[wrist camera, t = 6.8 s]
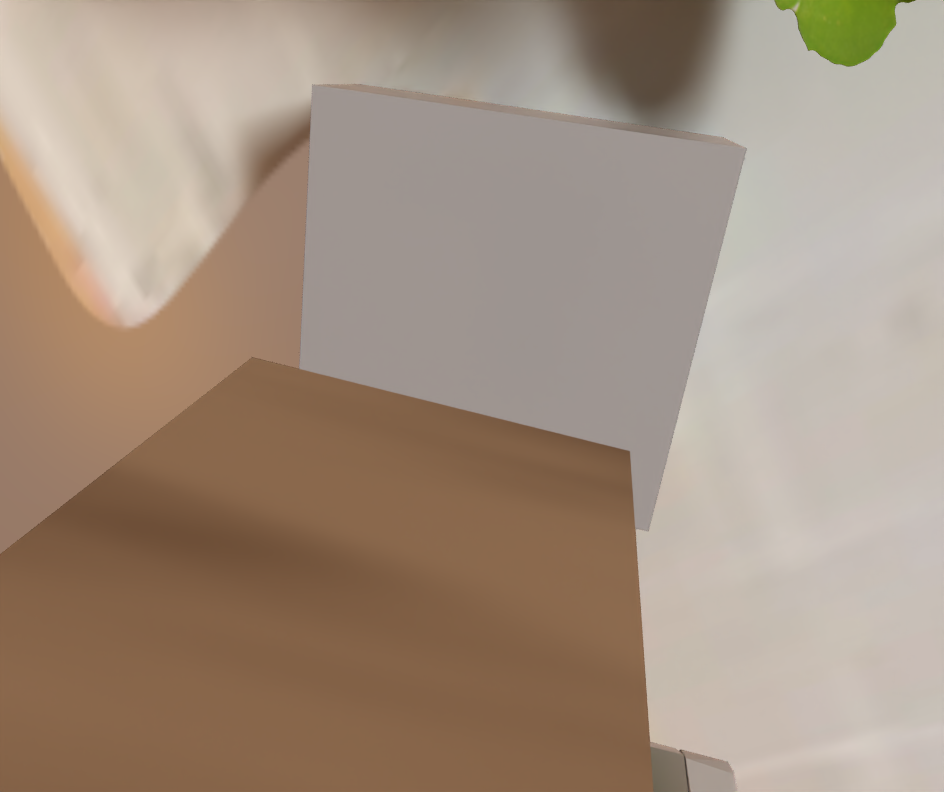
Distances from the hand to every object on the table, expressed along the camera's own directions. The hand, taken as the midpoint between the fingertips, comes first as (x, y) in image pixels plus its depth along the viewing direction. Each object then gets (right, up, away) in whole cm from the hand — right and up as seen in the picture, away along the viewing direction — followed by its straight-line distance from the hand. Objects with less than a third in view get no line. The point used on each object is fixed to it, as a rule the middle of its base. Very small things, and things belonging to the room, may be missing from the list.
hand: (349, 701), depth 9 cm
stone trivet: (+3, +7, +20) cm, 21 cm away
